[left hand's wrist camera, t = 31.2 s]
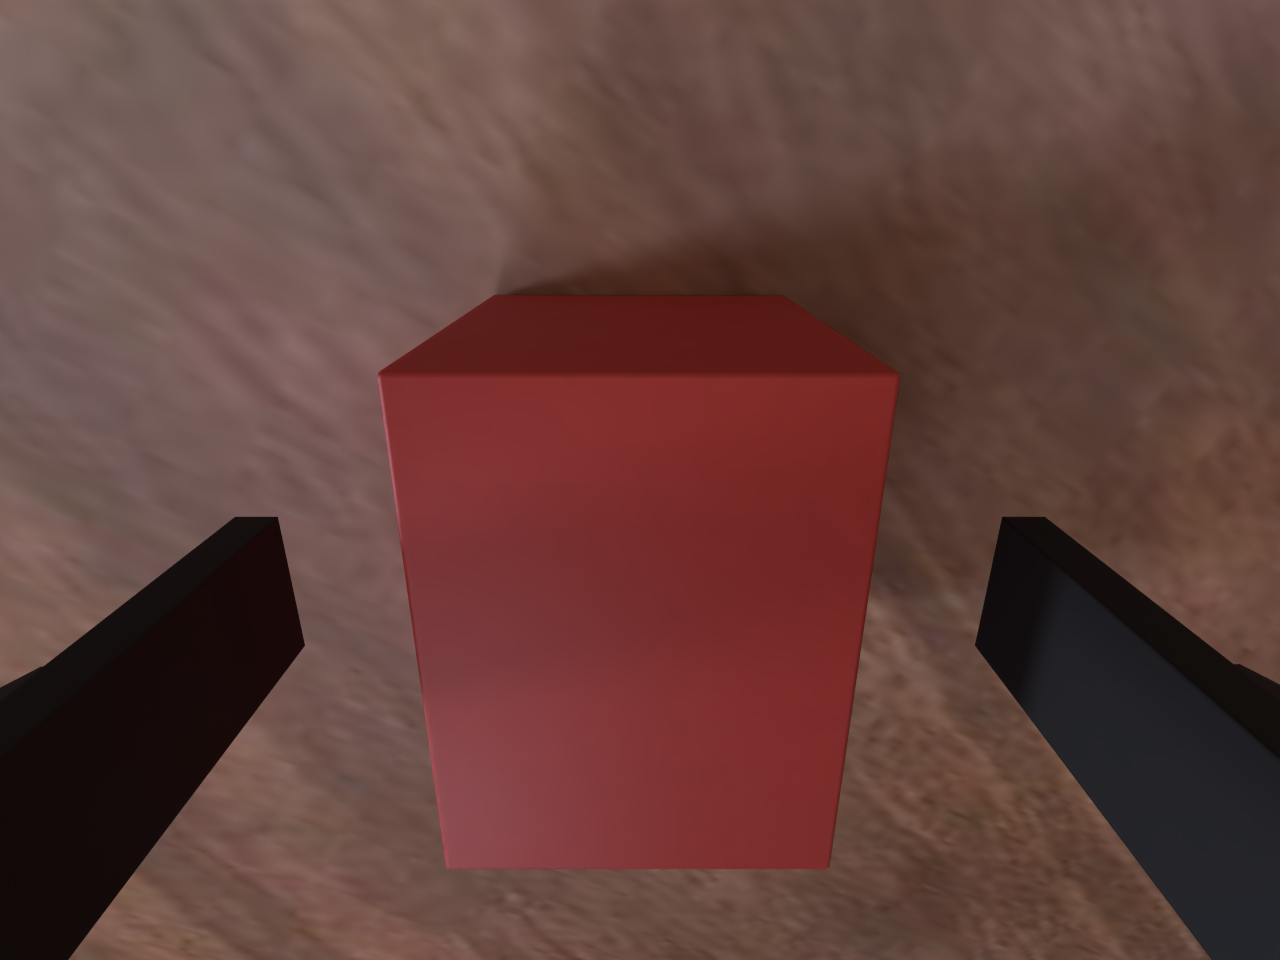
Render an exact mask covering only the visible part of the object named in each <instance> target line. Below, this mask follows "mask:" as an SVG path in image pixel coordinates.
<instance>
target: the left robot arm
mask: <svg viewBox="0 0 1280 960" xmlns="http://www.w3.org/2000/svg"><path fill="white" fill-rule="evenodd" d="M304 646H305V644H304V639H303V634H302V629H301V625H300V620H299V615H298V610H297V606H296V601H295V596H294V591H293V587H292V582H291V577H290V573H289V568H288V563H287V558H286V554H285V549H284V544H283V539H282V535H281V530H280V525H279V521H278V517H234V518H233V519H232V520H231V521H229V522H228V523H227V524H226V525H224V526H223V527H222V528H220V529H219V530H218V531H217V532H215V533H214V534H213V535H211V536H210V537H209V538H208V539H206V540H205V541H204V542H202V543H201V544H200V545H199V546H197V547H196V548H195V549H193V550H192V551H191V552H190V553H188V554H187V555H186V556H185V557H183V558H182V559H181V560H179V561H178V562H177V563H176V564H174V565H173V566H172V567H170V568H169V569H168V570H167V571H165V572H164V573H163V574H161V575H160V576H159V577H158V578H156V579H155V580H154V581H152V582H151V583H150V584H149V585H147V586H146V587H145V588H144V589H142V590H141V591H140V592H138V593H137V594H136V595H135V596H133V597H132V598H131V599H129V600H128V601H127V602H126V603H124V604H123V605H122V606H120V607H119V608H118V609H117V610H115V611H114V612H113V613H112V614H110V615H109V616H108V617H106V618H105V619H104V620H103V621H101V622H100V623H99V624H97V625H96V626H95V627H94V628H92V629H91V630H90V631H88V632H87V633H86V634H85V635H83V636H82V637H81V638H79V639H78V640H77V641H76V642H74V643H73V644H72V645H71V646H69V647H68V648H67V649H65V650H64V651H63V652H62V653H60V654H59V655H58V656H56V657H55V658H54V659H53V660H51V661H50V662H49V663H47V664H46V665H45V666H44V667H39V668H37V669H36V670H34V671H32V672H30V673H28V674H26V675H24V676H22V677H20V678H18V679H16V680H14V681H12V682H10V683H8V684H7V685H5V686H3V687H1V688H0V960H68V959H69V958H70V957H71V955H72V954H73V953H74V951H75V950H76V949H77V947H78V946H79V945H80V943H81V942H82V941H83V939H84V938H85V937H86V935H87V934H88V933H89V931H90V930H91V929H92V927H93V926H94V925H95V923H96V922H97V921H98V919H99V918H100V917H101V915H102V914H103V913H104V911H105V910H106V909H107V907H108V906H109V905H110V904H111V902H112V901H113V900H114V898H115V897H116V896H117V894H118V893H119V892H120V890H121V889H122V888H123V886H124V885H125V884H126V882H127V881H128V880H129V878H130V877H131V876H132V874H133V873H134V872H135V870H136V869H137V868H138V866H139V865H140V864H141V862H142V861H143V860H144V858H145V857H146V856H147V854H148V853H149V852H150V850H151V849H152V848H153V846H154V845H155V844H156V842H157V841H158V840H159V838H160V837H161V836H162V835H163V833H164V832H165V831H166V829H167V828H168V827H169V825H170V824H171V823H172V821H173V820H174V819H175V817H176V816H177V815H178V813H179V812H180V811H181V809H182V808H183V807H184V805H185V804H186V803H187V801H188V800H189V799H190V797H191V796H192V795H193V793H194V792H195V791H196V789H197V788H198V787H199V785H200V784H201V783H202V781H203V780H204V779H205V777H206V776H207V775H208V773H209V772H210V771H211V769H212V768H213V767H214V766H215V764H216V763H217V762H218V760H219V759H220V758H221V756H222V755H223V754H224V752H225V751H226V750H227V748H228V747H229V746H230V744H231V743H232V742H233V740H234V739H235V738H236V736H237V735H238V734H239V732H240V731H241V730H242V728H243V727H244V726H245V724H246V723H247V722H248V720H249V719H250V718H251V716H252V715H253V714H254V712H255V711H256V710H257V708H258V707H259V706H260V704H261V703H262V702H263V700H264V699H265V698H266V697H267V695H268V694H269V693H270V691H271V690H272V689H273V687H274V686H275V685H276V683H277V682H278V681H279V679H280V678H281V677H282V675H283V674H284V673H285V671H286V670H287V669H288V667H289V666H290V665H291V663H292V662H293V661H294V659H295V658H296V657H297V655H298V654H299V653H300V651H301V650H302V649H303V647H304ZM975 646H976V647H977V649H978V650H979V651H980V653H981V654H982V655H983V657H984V658H985V659H986V661H987V662H988V663H989V665H990V666H991V667H992V669H993V670H994V671H995V673H996V674H997V675H998V677H999V678H1000V679H1001V681H1002V682H1003V683H1004V685H1005V686H1006V687H1007V689H1008V690H1009V691H1010V693H1011V694H1012V695H1013V697H1014V698H1015V699H1016V700H1017V702H1018V703H1019V704H1020V706H1021V707H1022V708H1023V710H1024V711H1025V712H1026V714H1027V715H1028V716H1029V718H1030V719H1031V720H1032V722H1033V723H1034V724H1035V726H1036V727H1037V728H1038V730H1039V731H1040V732H1041V734H1042V735H1043V736H1044V738H1045V739H1046V740H1047V742H1048V743H1049V744H1050V746H1051V747H1052V748H1053V750H1054V751H1055V752H1056V754H1057V755H1058V756H1059V758H1060V759H1061V760H1062V762H1063V763H1064V764H1065V766H1066V767H1067V768H1068V769H1069V771H1070V772H1071V773H1072V775H1073V776H1074V777H1075V779H1076V780H1077V781H1078V783H1079V784H1080V785H1081V787H1082V788H1083V789H1084V791H1085V792H1086V793H1087V795H1088V796H1089V797H1090V799H1091V800H1092V801H1093V803H1094V804H1095V805H1096V807H1097V808H1098V809H1099V811H1100V812H1101V813H1102V815H1103V816H1104V817H1105V819H1106V820H1107V821H1108V823H1109V824H1110V825H1111V827H1112V828H1113V829H1114V831H1115V832H1116V833H1117V835H1118V836H1119V837H1120V838H1121V840H1122V841H1123V842H1124V844H1125V845H1126V846H1127V848H1128V849H1129V850H1130V852H1131V853H1132V854H1133V856H1134V857H1135V858H1136V860H1137V861H1138V862H1139V864H1140V865H1141V866H1142V868H1143V869H1144V870H1145V872H1146V873H1147V874H1148V876H1149V877H1150V878H1151V880H1152V881H1153V882H1154V884H1155V885H1156V886H1157V888H1158V889H1159V890H1160V892H1161V893H1162V894H1163V896H1164V897H1165V898H1166V900H1167V901H1168V902H1169V904H1170V905H1171V906H1172V907H1173V909H1174V910H1175V911H1176V913H1177V914H1178V915H1179V917H1180V918H1181V919H1182V921H1183V922H1184V923H1185V925H1186V926H1187V927H1188V929H1189V930H1190V931H1191V933H1192V934H1193V935H1194V937H1195V938H1196V939H1197V941H1198V942H1199V943H1200V945H1201V946H1202V947H1203V949H1204V950H1205V951H1206V953H1207V954H1208V955H1209V957H1210V958H1211V959H1212V960H1280V685H1279V684H1277V683H1275V682H1274V681H1272V680H1270V679H1268V678H1266V677H1264V676H1262V675H1260V674H1258V673H1256V672H1254V671H1252V670H1250V669H1248V668H1246V667H1244V666H1242V665H1240V664H1233V663H1231V662H1230V661H1229V660H1227V659H1226V658H1225V657H1224V656H1222V655H1221V654H1220V653H1218V652H1217V651H1216V650H1215V649H1213V648H1212V647H1211V646H1209V645H1208V644H1207V643H1206V642H1204V641H1203V640H1202V639H1201V638H1199V637H1198V636H1197V635H1195V634H1194V633H1193V632H1192V631H1190V630H1189V629H1188V628H1186V627H1185V626H1184V625H1183V624H1181V623H1180V622H1179V621H1177V620H1176V619H1175V618H1174V617H1172V616H1171V615H1170V614H1168V613H1167V612H1166V611H1165V610H1163V609H1162V608H1161V607H1160V606H1158V605H1157V604H1156V603H1154V602H1153V601H1152V600H1151V599H1149V598H1148V597H1147V596H1145V595H1144V594H1143V593H1142V592H1140V591H1139V590H1138V589H1136V588H1135V587H1134V586H1133V585H1131V584H1130V583H1129V582H1128V581H1126V580H1125V579H1124V578H1122V577H1121V576H1120V575H1119V574H1117V573H1116V572H1115V571H1113V570H1112V569H1111V568H1110V567H1108V566H1107V565H1106V564H1104V563H1103V562H1102V561H1101V560H1099V559H1098V558H1097V557H1095V556H1094V555H1093V554H1092V553H1090V552H1089V551H1088V550H1087V549H1085V548H1084V547H1083V546H1081V545H1080V544H1079V543H1078V542H1076V541H1075V540H1074V539H1072V538H1071V537H1070V536H1069V535H1067V534H1066V533H1065V532H1063V531H1062V530H1061V529H1060V528H1058V527H1057V526H1056V525H1054V524H1053V523H1052V522H1051V521H1049V520H1048V519H1047V518H1046V517H1002V521H1001V525H1000V530H999V535H998V540H997V544H996V549H995V554H994V558H993V563H992V568H991V573H990V577H989V582H988V587H987V592H986V596H985V601H984V606H983V610H982V615H981V620H980V625H979V629H978V634H977V639H976V644H975Z"/></svg>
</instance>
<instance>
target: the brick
mask: <svg viewBox="0 0 1280 960" xmlns="http://www.w3.org/2000/svg"><path fill="white" fill-rule="evenodd" d="M377 378H378V385H379V392H380V399H381V406H382V413H383V420H384V427H385V435H386V442H387V449H388V456H389V463H390V470H391V477H392V484H393V491H394V499H395V506H396V513H397V520H398V527H399V534H400V541H401V548H402V556H403V563H404V570H405V577H406V584H407V591H408V598H409V605H410V612H411V620H412V627H413V634H414V641H415V648H416V655H417V662H418V669H419V676H420V684H421V691H422V698H423V705H424V712H425V719H426V726H427V733H428V740H429V748H430V755H431V762H432V769H433V776H434V783H435V790H436V797H437V804H438V812H439V819H440V826H441V833H442V840H443V847H444V854H445V861H446V867H447V868H449V869H827V868H829V866H830V859H831V852H832V845H833V839H834V832H835V825H836V818H837V811H838V804H839V797H840V790H841V783H842V776H843V769H844V762H845V755H846V748H847V741H848V734H849V727H850V720H851V713H852V707H853V700H854V693H855V686H856V679H857V672H858V665H859V658H860V651H861V644H862V637H863V630H864V623H865V616H866V609H867V602H868V595H869V588H870V581H871V575H872V568H873V561H874V554H875V547H876V540H877V533H878V526H879V519H880V512H881V505H882V498H883V491H884V484H885V477H886V470H887V463H888V456H889V450H890V443H891V436H892V429H893V422H894V415H895V408H896V401H897V394H898V387H899V380H900V377H899V373H897V372H896V371H894V370H893V369H891V368H890V367H889V366H887V365H886V364H884V363H883V362H881V361H880V360H878V359H877V358H875V357H874V356H872V355H871V354H869V353H868V352H866V351H865V350H863V349H862V348H860V347H859V346H857V345H856V344H854V343H853V342H851V341H850V340H849V339H847V338H846V337H844V336H843V335H841V334H840V333H838V332H837V331H835V330H834V329H832V328H831V327H829V326H828V325H826V324H825V323H823V322H822V321H820V320H819V319H817V318H816V317H814V316H813V315H811V314H810V313H809V312H807V311H806V310H804V309H803V308H801V307H800V306H798V305H797V304H795V303H794V302H792V301H791V300H789V299H788V298H786V297H785V296H721V295H494V296H492V297H491V298H489V299H488V300H486V301H485V302H483V303H482V304H480V305H479V306H477V307H476V308H474V309H473V310H471V311H470V312H468V313H467V314H465V315H464V316H462V317H461V318H459V319H458V320H456V321H455V322H453V323H452V324H450V325H449V326H447V327H446V328H444V329H443V330H441V331H440V332H438V333H437V334H435V335H434V336H432V337H431V338H429V339H428V340H426V341H425V342H423V343H422V344H420V345H419V346H417V347H416V348H414V349H413V350H411V351H410V352H408V353H407V354H405V355H404V356H402V357H401V358H399V359H398V360H396V361H395V362H393V363H392V364H390V365H389V366H387V367H386V368H384V369H383V370H381V371H380V372H379V373H378V376H377Z"/></svg>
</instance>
